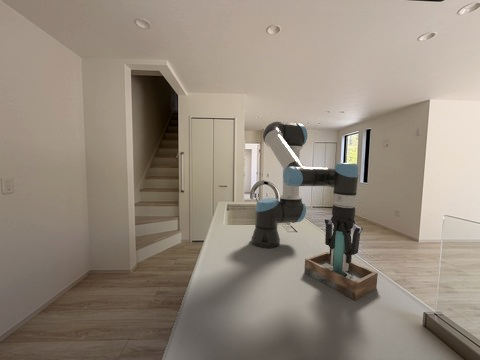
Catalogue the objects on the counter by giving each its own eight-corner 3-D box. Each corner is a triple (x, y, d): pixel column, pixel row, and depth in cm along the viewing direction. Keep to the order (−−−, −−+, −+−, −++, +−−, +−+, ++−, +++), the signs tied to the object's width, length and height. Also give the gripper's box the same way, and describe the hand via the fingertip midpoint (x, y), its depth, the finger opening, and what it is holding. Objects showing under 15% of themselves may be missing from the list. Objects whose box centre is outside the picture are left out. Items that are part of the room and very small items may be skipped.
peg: (336, 269, 82) (339, 228, 81) (346, 274, 79) (350, 232, 78) (330, 272, 80) (333, 230, 79) (340, 277, 77) (343, 233, 75)
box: (304, 272, 84) (305, 259, 84) (326, 264, 92) (327, 251, 91) (354, 300, 68) (356, 284, 67) (376, 287, 75) (377, 272, 75)
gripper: (317, 202, 82) (313, 260, 84) (362, 211, 68) (356, 281, 70) (329, 201, 87) (325, 256, 88) (374, 209, 72) (368, 275, 74)
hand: (339, 267), depth 79 cm, fingers closed on peg, 4 cm apart
